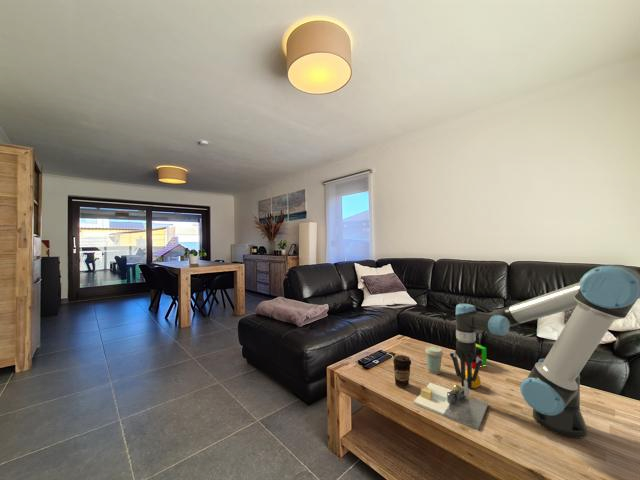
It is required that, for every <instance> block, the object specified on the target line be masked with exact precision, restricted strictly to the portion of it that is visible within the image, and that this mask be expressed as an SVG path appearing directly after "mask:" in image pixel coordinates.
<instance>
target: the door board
mask: <svg viewBox="0 0 640 480" xmlns="http://www.w3.org/2000/svg"><path fill="white" fill-rule="evenodd" d="M452 390H453V389H449V388H447V387H444V386H441V385H438V384H435V383H433V382H429V384H427V386H425V387H422V388H421V389H420V394H419V395H418V396H417V397H416V398H415V399H414V400H413V405H416V406H418V407H420V408H422V409H426V410H427V411H431V412H432V413H435V414H437V415H439V416H440V415H441V416H442V417H444V412H445V411H446V409H447V408H448V406H449V404H450V403H448V402H447V392H450V391H452Z"/></svg>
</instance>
